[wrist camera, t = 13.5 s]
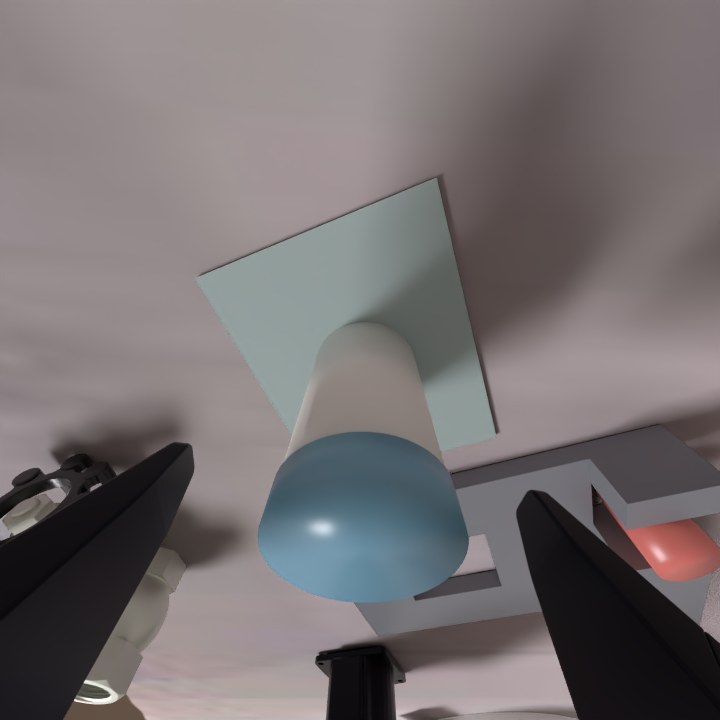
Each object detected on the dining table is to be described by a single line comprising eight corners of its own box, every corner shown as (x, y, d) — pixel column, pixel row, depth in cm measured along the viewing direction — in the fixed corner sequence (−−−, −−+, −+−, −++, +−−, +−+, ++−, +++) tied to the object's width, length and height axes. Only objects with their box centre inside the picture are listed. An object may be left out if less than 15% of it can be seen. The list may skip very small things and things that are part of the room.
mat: (495, 434, 16) (496, 437, 16) (320, 479, 18) (320, 482, 18) (435, 177, 11) (436, 177, 11) (197, 277, 12) (194, 278, 12)
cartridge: (430, 329, 13) (502, 493, 6) (404, 416, 15) (434, 611, 8) (319, 310, 13) (260, 458, 6) (309, 402, 15) (256, 590, 8)
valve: (215, 573, 23) (137, 447, 17) (162, 706, 17) (18, 580, 11) (129, 578, 23) (26, 458, 18) (49, 708, 17) (-143, 590, 12)
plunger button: (648, 496, 17) (721, 575, 14) (597, 507, 18) (654, 585, 14) (650, 463, 16) (730, 540, 13) (596, 476, 17) (657, 553, 13)
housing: (648, 577, 21) (695, 641, 18) (377, 620, 25) (379, 681, 22) (660, 424, 15) (733, 482, 12) (301, 510, 19) (287, 572, 16)
